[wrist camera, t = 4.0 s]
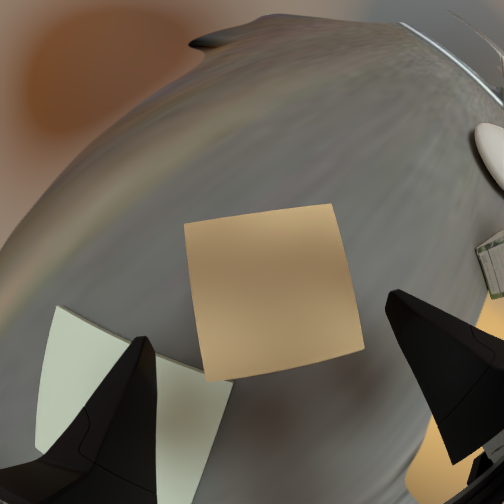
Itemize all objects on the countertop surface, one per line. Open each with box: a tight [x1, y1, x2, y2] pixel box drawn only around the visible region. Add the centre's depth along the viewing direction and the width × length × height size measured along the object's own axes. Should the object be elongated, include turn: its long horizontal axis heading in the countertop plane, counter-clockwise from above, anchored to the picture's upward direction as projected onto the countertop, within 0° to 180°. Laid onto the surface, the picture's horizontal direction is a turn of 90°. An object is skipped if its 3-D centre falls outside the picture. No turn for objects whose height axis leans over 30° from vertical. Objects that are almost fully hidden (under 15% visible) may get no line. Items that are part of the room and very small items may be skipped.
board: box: [35, 306, 234, 504], centre depth 14 cm, size 14×14×1 cm
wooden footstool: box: [184, 204, 365, 382], centre depth 13 cm, size 5×5×10 cm
